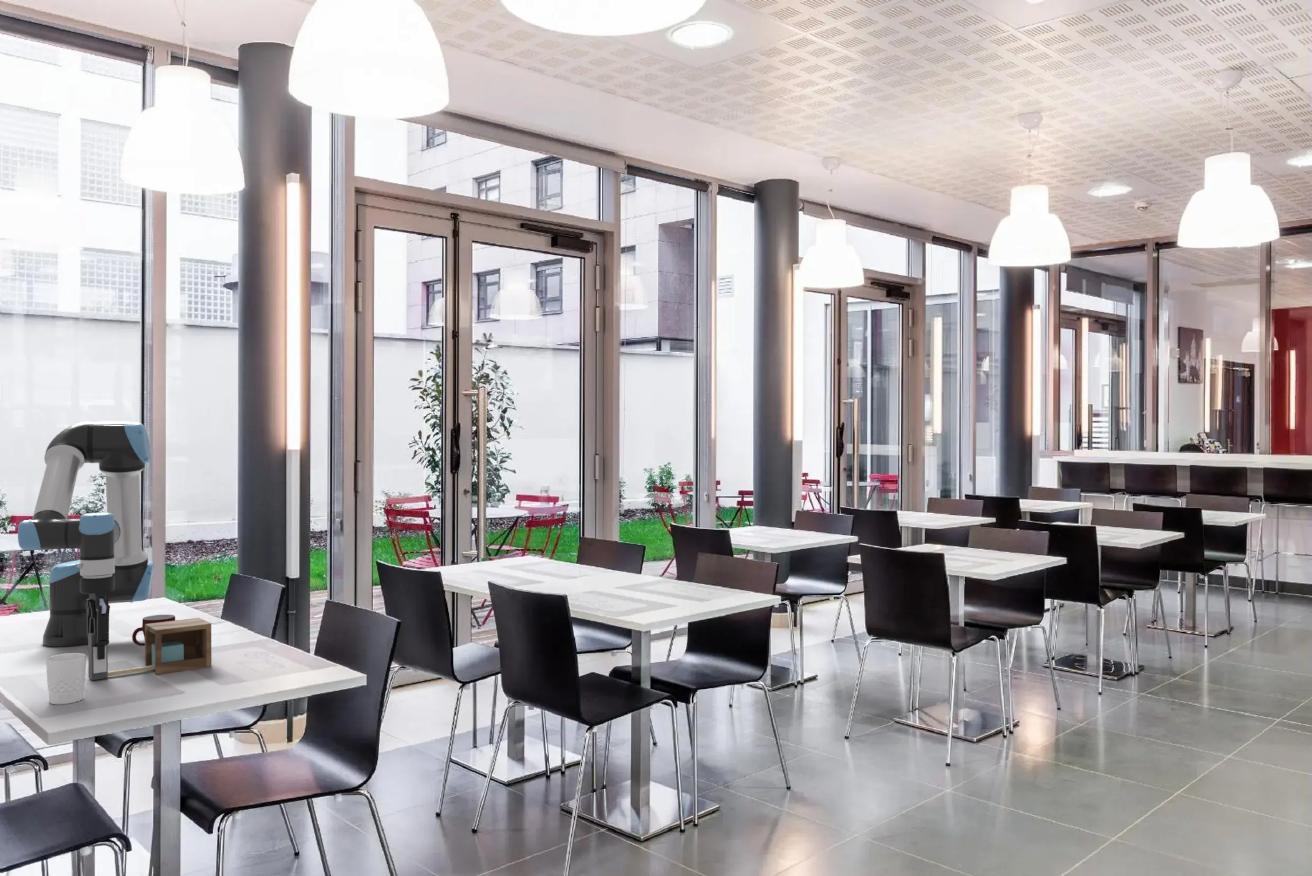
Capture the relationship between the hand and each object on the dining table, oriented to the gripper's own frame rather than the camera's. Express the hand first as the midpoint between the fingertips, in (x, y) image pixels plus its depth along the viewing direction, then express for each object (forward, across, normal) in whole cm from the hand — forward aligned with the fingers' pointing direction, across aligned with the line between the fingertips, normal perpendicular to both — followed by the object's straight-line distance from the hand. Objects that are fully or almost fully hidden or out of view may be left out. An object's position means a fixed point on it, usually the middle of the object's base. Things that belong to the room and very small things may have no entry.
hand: (97, 670), depth 246 cm
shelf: (+2, 0, +18) cm, 18 cm away
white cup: (+2, +17, -10) cm, 20 cm away
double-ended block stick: (+2, 0, +9) cm, 9 cm away
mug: (+2, -20, +18) cm, 27 cm away
